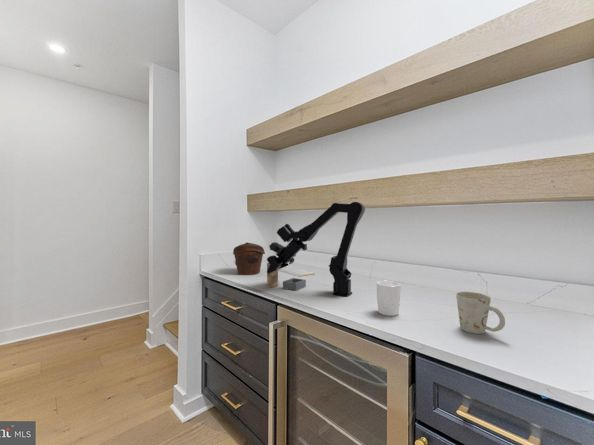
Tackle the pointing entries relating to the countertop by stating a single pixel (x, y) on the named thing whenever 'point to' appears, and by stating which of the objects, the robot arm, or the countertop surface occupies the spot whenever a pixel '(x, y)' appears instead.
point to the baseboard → (295, 271)
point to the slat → (272, 278)
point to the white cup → (388, 297)
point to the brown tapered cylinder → (248, 258)
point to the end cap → (294, 284)
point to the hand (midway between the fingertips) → (269, 271)
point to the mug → (476, 312)
